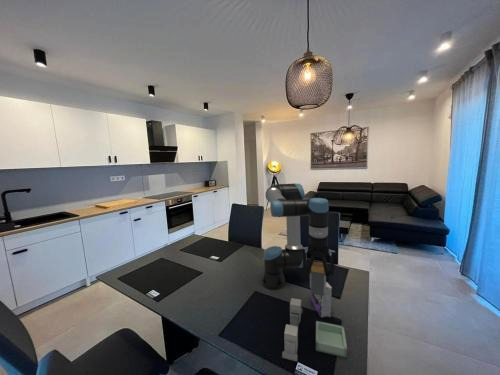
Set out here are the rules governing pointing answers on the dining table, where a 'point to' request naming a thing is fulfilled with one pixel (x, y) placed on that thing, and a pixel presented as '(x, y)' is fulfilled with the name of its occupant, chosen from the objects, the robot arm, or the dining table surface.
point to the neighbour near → (291, 335)
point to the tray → (331, 339)
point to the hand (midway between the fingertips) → (317, 287)
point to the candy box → (323, 302)
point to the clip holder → (290, 346)
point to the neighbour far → (296, 306)
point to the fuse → (317, 278)
